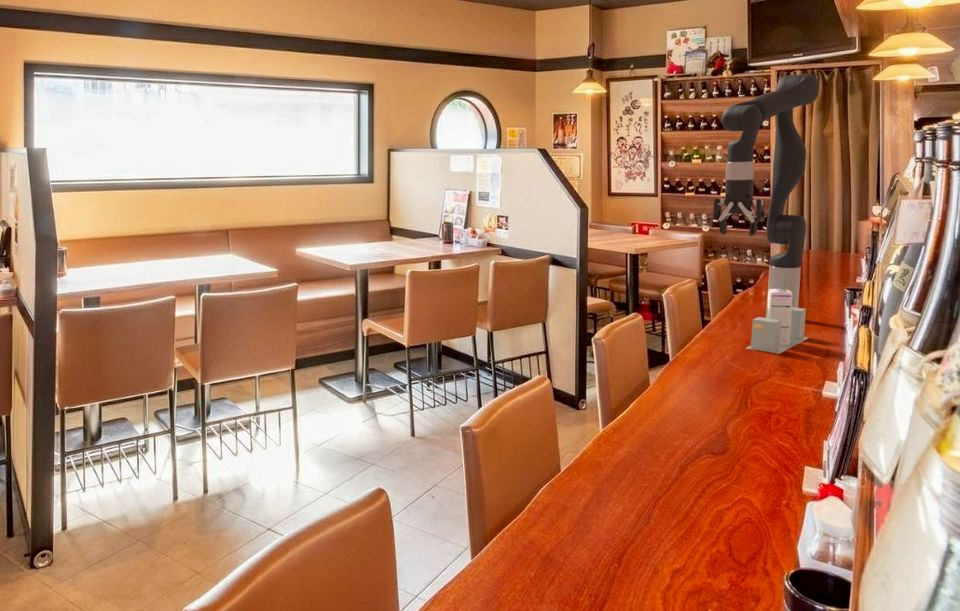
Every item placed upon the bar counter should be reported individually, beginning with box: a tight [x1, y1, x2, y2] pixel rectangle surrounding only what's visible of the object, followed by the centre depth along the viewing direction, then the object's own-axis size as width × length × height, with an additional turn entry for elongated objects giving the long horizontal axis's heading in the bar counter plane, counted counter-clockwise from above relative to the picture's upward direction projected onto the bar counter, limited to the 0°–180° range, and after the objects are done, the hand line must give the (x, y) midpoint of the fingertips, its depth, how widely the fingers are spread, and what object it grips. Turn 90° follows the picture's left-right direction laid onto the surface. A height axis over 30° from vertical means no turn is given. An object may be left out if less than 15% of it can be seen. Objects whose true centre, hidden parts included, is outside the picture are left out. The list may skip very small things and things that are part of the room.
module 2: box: [790, 307, 807, 339], centre depth 211 cm, size 4×6×8 cm
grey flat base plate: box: [745, 336, 810, 355], centre depth 205 cm, size 23×9×1 cm, turn 138°
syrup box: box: [766, 289, 792, 345], centre depth 204 cm, size 6×6×14 cm
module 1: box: [750, 316, 781, 354], centre depth 197 cm, size 4×6×8 cm
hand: (737, 234), depth 216 cm, fingers open, 8 cm apart
